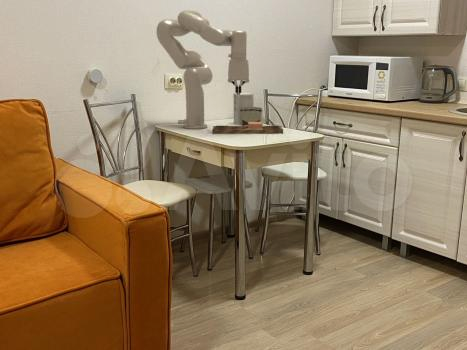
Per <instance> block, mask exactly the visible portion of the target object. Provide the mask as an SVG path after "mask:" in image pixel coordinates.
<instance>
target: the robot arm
mask: <svg viewBox="0 0 467 350" xmlns="http://www.w3.org/2000/svg"><path fill="white" fill-rule="evenodd" d="M191 32H192V33H194V34H197V35H199V36H200V38H201V39H202V40H204V41H205V42H207V43H210V44H212V45H213V46H216V47H217V46H218V47H230V53H228V54H227V57H228V58H230V59H229V60H228V68H227V69H228V71H227V75H228V77H227V78H228V79H227V82H228V83H230V84H233V86H235V90H234V93H237V95H238V93H239V95H240V93H242V86H244V85H245V84H247V83H250V79H249V78H250V69H249V59H247V42H248V41H247V35H248V34H247V31H245V30H228V29H227V30H226V29H217V28H216V27H213V26H212V25H210V22H209V20H208V19H206V18H204V17H203V16H202V14H201V13H200V12H197V11H194V10H181V11H180V12H179V14H178V15H177V19H163V20H161V21H159V23H158V24H157V27H156V37H157V40H158V42H159V44H160V45H161V46H162V48H163V49H164V50H165V52H166V53H167V54H168V55H169V57H170V59H171V60H172V61H173V62H174V64H175V66H176V67H177V68H178V69H180V70H185V71H184V73H183V83H184V87H185V110H186V111H185V117H186V118H185V119H178V120H177V123H178V124H179V125H181V124H182V125H183V128H184V129H190V130H191V129H192V130H198V129H206V128H208V125H207V124H206V123H205V93H204V89H203V85H207V84H210V83H211V82H212V80H213V72H212V70H211V68H210V66H209V65H208V64H207V62H206V61H205V59H204V58H203V57H202V56H201V54H199V53H198V52H197V51H195V50H187V49H186V48H185V47H184V46H183V45H182V43H181V42H180V41H179V40H178V39H177V38H175V37H183V36H185V35H188V34H189V33H191ZM238 81H239V85H238Z"/></svg>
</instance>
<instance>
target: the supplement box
mask: <svg viewBox="0 0 467 350" xmlns="http://www.w3.org/2000/svg"><path fill="white" fill-rule="evenodd" d="M232 97H233V123H234V124H235V125H236V126H242V118H241V112H240V109H241V108H243V107H255V105H254V99H255V98H254V94H253V93H251V92H241V93H240V95H239V92H238V95H237V93H235V92H234V93H233V96H232Z"/></svg>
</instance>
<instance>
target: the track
mask: <svg viewBox="0 0 467 350" xmlns="http://www.w3.org/2000/svg"><path fill="white" fill-rule="evenodd" d="M279 133H281V134H280V135H282V134H284V128H283V126H282V125H263V129H248V126H242V125H213V126H212V132H211V134H212V135H213V134H221V135H222V134H225V135H227V134H235V135H236V134H237V135H238V134H240V135H241V134H245V135H247V134H254V135H255V134H257V135H258V134H259V135H260V134H261V135H262V134H263V135H265V134H266V135H267V134H270V135H271V134H272V135H275V134H278V135H279Z"/></svg>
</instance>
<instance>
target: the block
mask: <svg viewBox="0 0 467 350" xmlns="http://www.w3.org/2000/svg"><path fill="white" fill-rule="evenodd" d="M263 126H264V124H263V122H262V121H260V122H248V129H263Z"/></svg>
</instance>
